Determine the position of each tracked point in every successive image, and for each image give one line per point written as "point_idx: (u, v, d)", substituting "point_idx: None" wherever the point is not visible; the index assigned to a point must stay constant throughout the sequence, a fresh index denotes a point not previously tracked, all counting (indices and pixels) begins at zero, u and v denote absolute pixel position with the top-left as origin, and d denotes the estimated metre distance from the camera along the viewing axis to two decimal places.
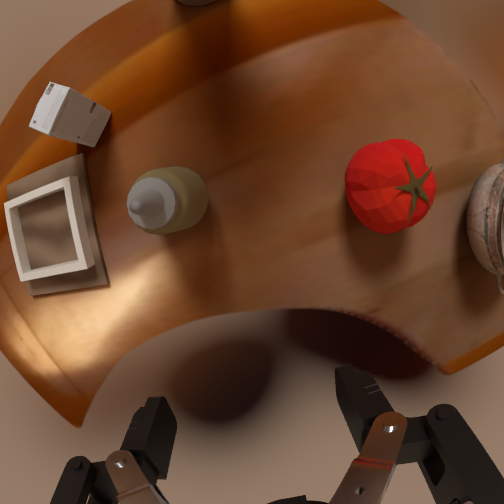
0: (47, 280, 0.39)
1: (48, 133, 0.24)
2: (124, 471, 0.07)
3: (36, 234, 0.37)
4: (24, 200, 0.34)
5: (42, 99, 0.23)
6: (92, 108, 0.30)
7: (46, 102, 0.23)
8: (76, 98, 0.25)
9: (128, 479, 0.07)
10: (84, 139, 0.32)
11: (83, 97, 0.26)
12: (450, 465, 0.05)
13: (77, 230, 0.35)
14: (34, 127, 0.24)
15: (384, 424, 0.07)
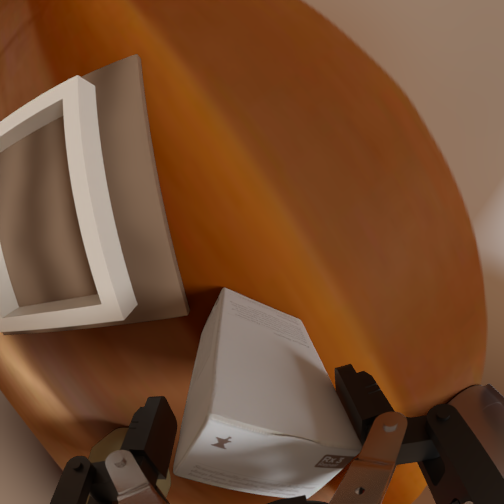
0: None
1: (177, 474, 0.08)
2: (124, 471, 0.07)
3: (31, 177, 0.16)
4: (70, 161, 0.14)
5: (306, 452, 0.08)
6: None
7: (287, 467, 0.08)
8: None
9: (128, 479, 0.07)
10: None
11: None
12: (450, 465, 0.05)
13: (38, 327, 0.16)
14: (199, 442, 0.07)
15: (384, 424, 0.07)
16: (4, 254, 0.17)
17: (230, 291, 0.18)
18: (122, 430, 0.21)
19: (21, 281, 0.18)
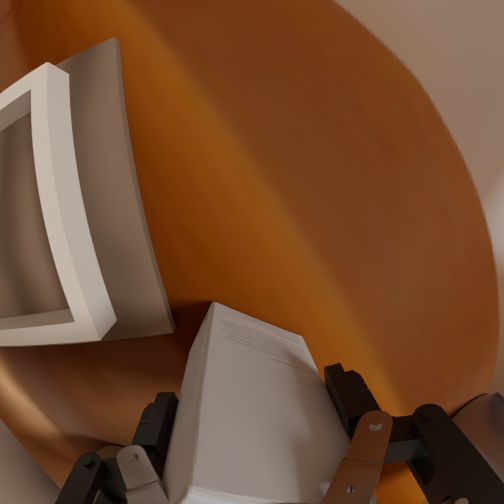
0: None
1: None
2: (135, 466, 0.07)
3: (2, 178, 0.13)
4: (37, 158, 0.11)
5: None
6: None
7: None
8: None
9: (141, 474, 0.07)
10: None
11: None
12: (440, 464, 0.05)
13: (13, 343, 0.13)
14: None
15: (369, 423, 0.08)
16: None
17: (221, 306, 0.16)
18: (110, 449, 0.18)
19: None
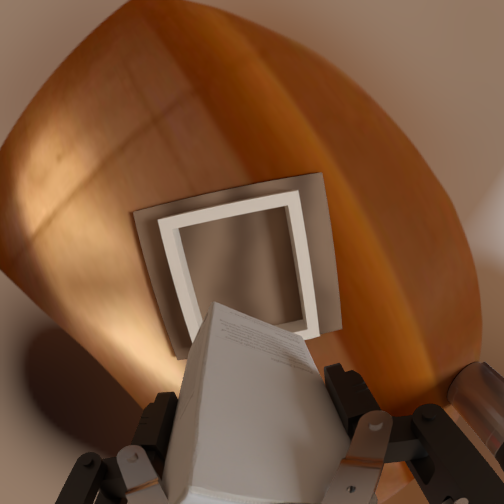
0: (164, 261, 0.30)
1: None
2: (135, 466, 0.07)
3: (237, 247, 0.30)
4: (298, 249, 0.27)
5: None
6: None
7: None
8: None
9: (141, 474, 0.07)
10: None
11: None
12: (440, 464, 0.05)
13: None
14: None
15: (369, 423, 0.08)
16: (199, 300, 0.31)
17: (220, 306, 0.16)
18: None
19: None
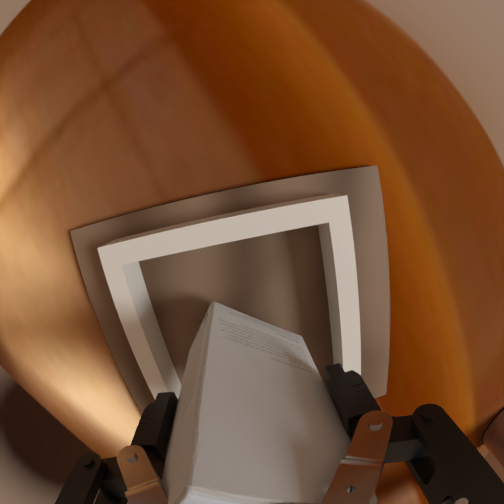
0: None
1: None
2: (135, 466, 0.07)
3: (236, 291, 0.17)
4: (342, 299, 0.15)
5: None
6: None
7: None
8: None
9: (141, 474, 0.07)
10: None
11: None
12: (440, 464, 0.05)
13: None
14: None
15: (369, 423, 0.08)
16: (177, 368, 0.19)
17: (220, 306, 0.16)
18: None
19: None
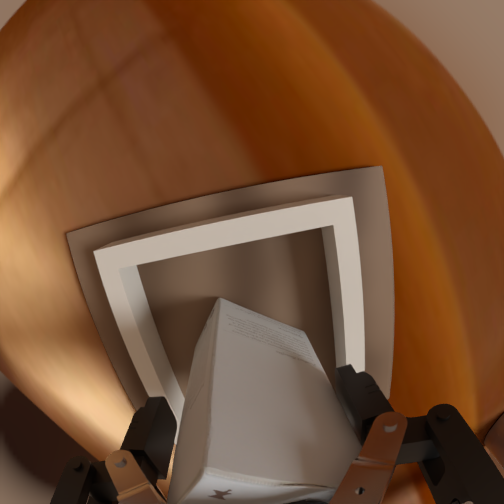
0: None
1: None
2: (124, 471, 0.07)
3: (237, 295, 0.17)
4: (346, 304, 0.15)
5: (318, 498, 0.06)
6: None
7: None
8: None
9: (128, 479, 0.07)
10: None
11: None
12: (450, 465, 0.05)
13: None
14: (194, 493, 0.05)
15: (384, 424, 0.07)
16: (177, 373, 0.18)
17: (226, 302, 0.16)
18: None
19: None
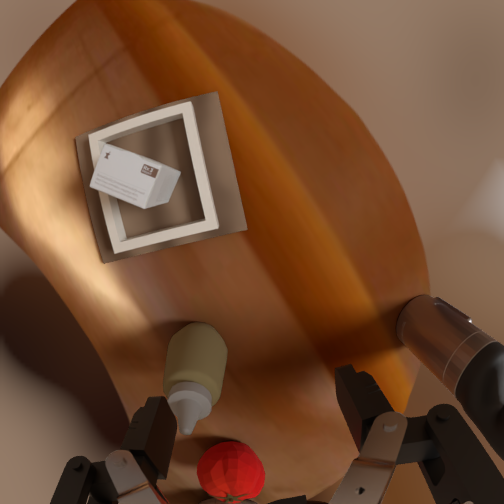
0: None
1: (90, 185, 0.22)
2: (124, 471, 0.07)
3: (148, 154, 0.33)
4: (191, 146, 0.31)
5: (136, 160, 0.22)
6: None
7: (129, 171, 0.22)
8: None
9: (128, 479, 0.07)
10: None
11: (151, 206, 0.26)
12: (450, 465, 0.05)
13: (154, 242, 0.33)
14: (100, 157, 0.21)
15: (384, 424, 0.07)
16: (119, 203, 0.34)
17: None
18: (192, 323, 0.38)
19: (133, 219, 0.35)
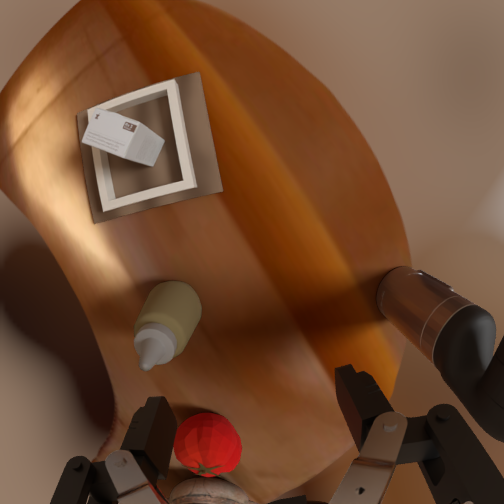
0: None
1: (82, 141, 0.25)
2: (124, 471, 0.07)
3: None
4: (173, 116, 0.34)
5: (119, 119, 0.25)
6: None
7: (113, 127, 0.25)
8: None
9: (128, 479, 0.07)
10: None
11: None
12: (450, 465, 0.05)
13: (138, 200, 0.36)
14: (91, 118, 0.24)
15: (384, 424, 0.07)
16: (111, 168, 0.37)
17: None
18: None
19: (122, 183, 0.38)
